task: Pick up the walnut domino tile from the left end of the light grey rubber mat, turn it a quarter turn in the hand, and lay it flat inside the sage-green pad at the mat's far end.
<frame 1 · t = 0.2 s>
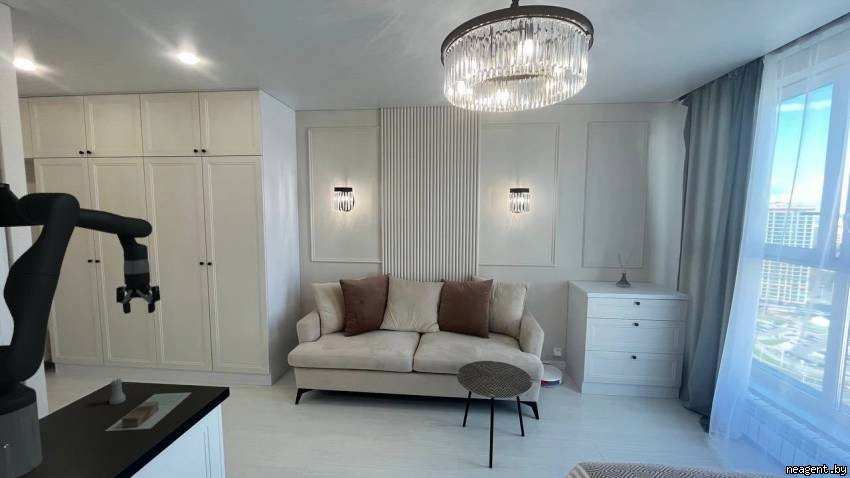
hand: (139, 312, 129), 29 cm above the counter, tool pointing down, fingers open, 8 cm apart
walnut tile: (141, 418, 108), resting on grey mat
rook chess piece: (117, 402, 119), on the counter
grey mat: (152, 410, 113), on the counter
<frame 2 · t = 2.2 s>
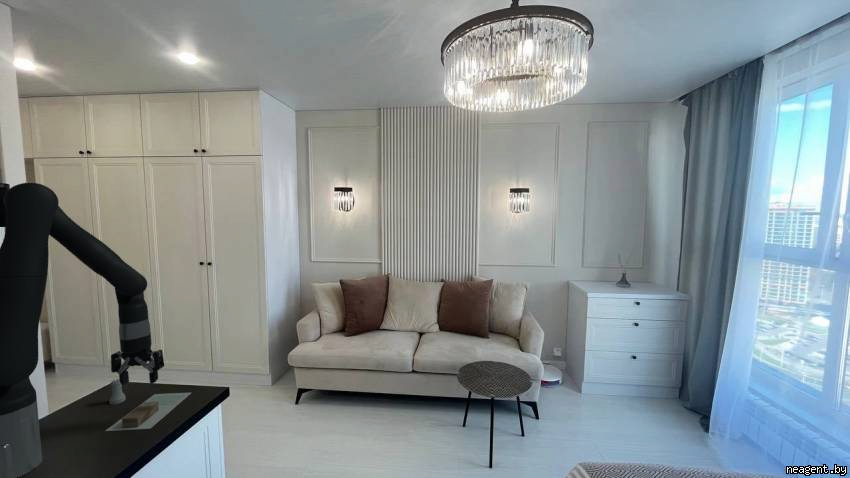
hand: (139, 382, 107), 12 cm above the counter, tool pointing down, fingers open, 8 cm apart
nothing on the counter moved.
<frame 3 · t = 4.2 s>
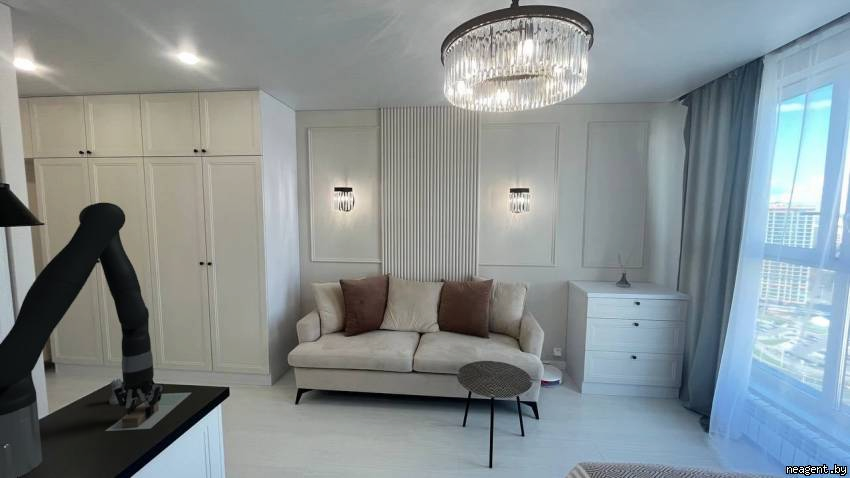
hand: (141, 416, 108), 1 cm above the counter, tool pointing down, fingers closed on walnut tile, 4 cm apart
walnut tile: (141, 418, 108), resting on grey mat, touching gripper
everything else where it was.
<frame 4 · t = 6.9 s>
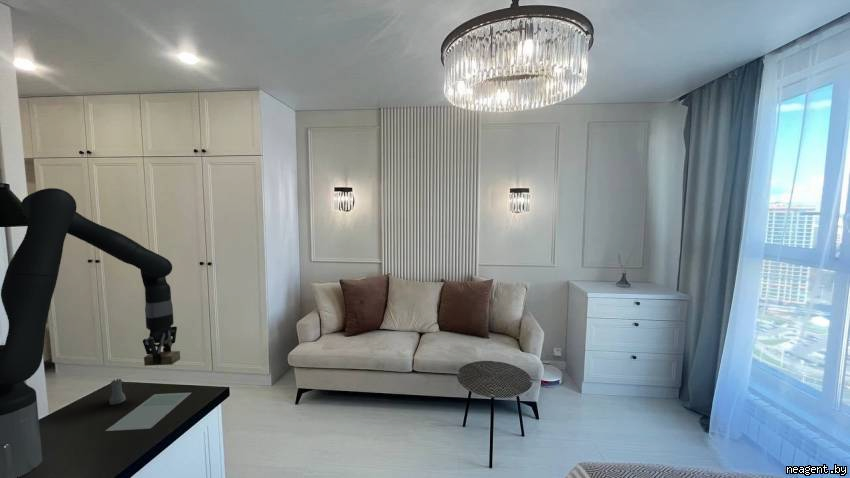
hand: (162, 360, 118), 15 cm above the counter, tool pointing down, fingers closed on walnut tile, 4 cm apart
walnut tile: (162, 362, 118), point 14 cm above the counter, touching gripper
everything else where it was.
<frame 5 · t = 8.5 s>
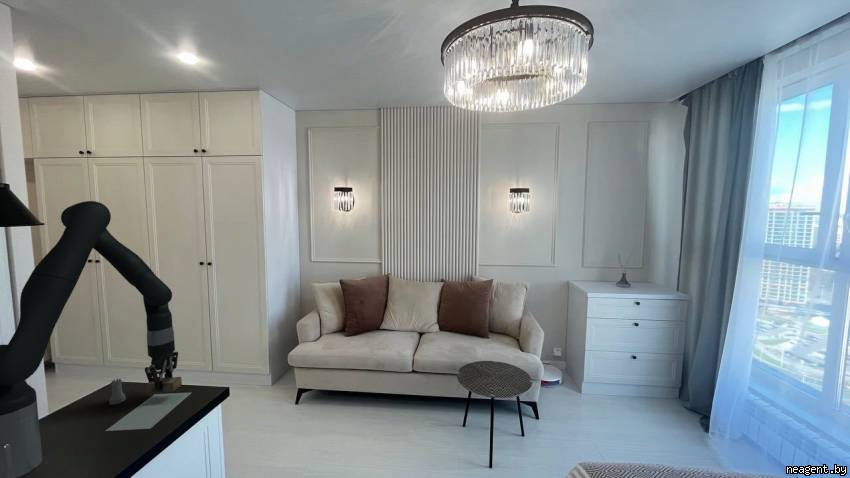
hand: (164, 386, 119), 5 cm above the counter, tool pointing down, fingers closed on walnut tile, 4 cm apart
walnut tile: (164, 388, 119), point 5 cm above the counter, touching gripper
everything else where it was.
when the fingers open (3 cm above the counter, at t = 9.9 s): walnut tile drops 2 cm, resting on grey mat.
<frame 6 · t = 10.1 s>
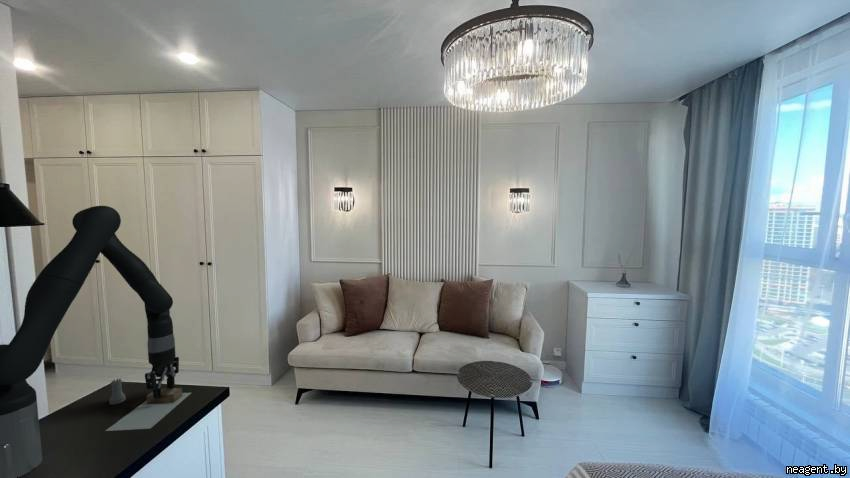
hand: (164, 392, 119), 3 cm above the counter, tool pointing down, fingers open, 6 cm apart
walnut tile: (164, 399, 119), resting on grey mat
everything else where it was.
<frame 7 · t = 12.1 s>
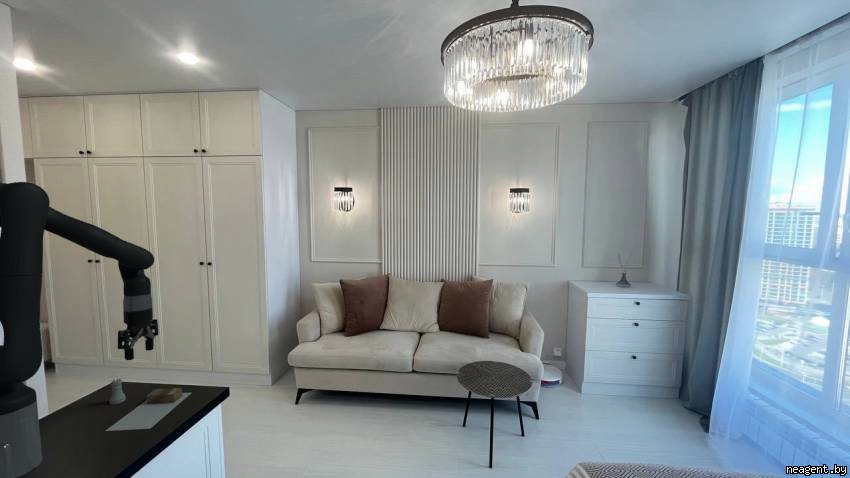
hand: (139, 354, 113), 19 cm above the counter, tool pointing down, fingers open, 8 cm apart
nothing on the counter moved.
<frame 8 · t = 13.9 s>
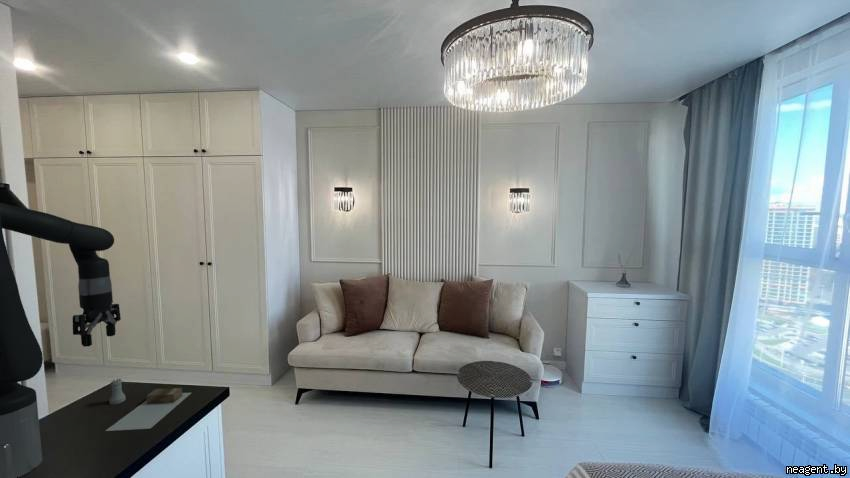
hand: (99, 340, 107), 26 cm above the counter, tool pointing down, fingers open, 8 cm apart
nothing on the counter moved.
at the end: walnut tile inside the target area on the grey mat (0.0 cm from its centre), point 0.5 cm above the grey mat's base; walnut tile tilted 0°; the gripper is holding nothing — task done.
